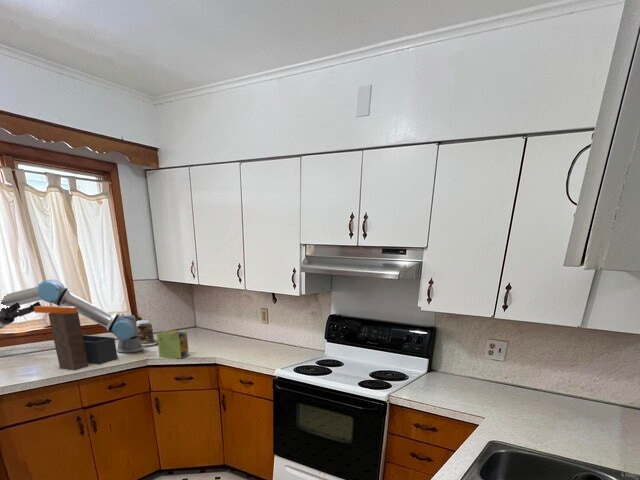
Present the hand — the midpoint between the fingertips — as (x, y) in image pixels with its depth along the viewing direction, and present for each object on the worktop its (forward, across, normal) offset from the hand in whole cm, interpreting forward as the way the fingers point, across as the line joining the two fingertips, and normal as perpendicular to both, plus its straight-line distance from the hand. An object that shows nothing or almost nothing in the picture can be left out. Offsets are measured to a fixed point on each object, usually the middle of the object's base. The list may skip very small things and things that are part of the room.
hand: (29, 304), depth 235 cm
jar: (+5, -76, -34) cm, 83 cm away
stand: (+8, +1, -40) cm, 40 cm away
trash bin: (+6, -17, -38) cm, 42 cm away
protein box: (+43, -42, -53) cm, 80 cm away
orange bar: (+16, +3, -11) cm, 20 cm away
